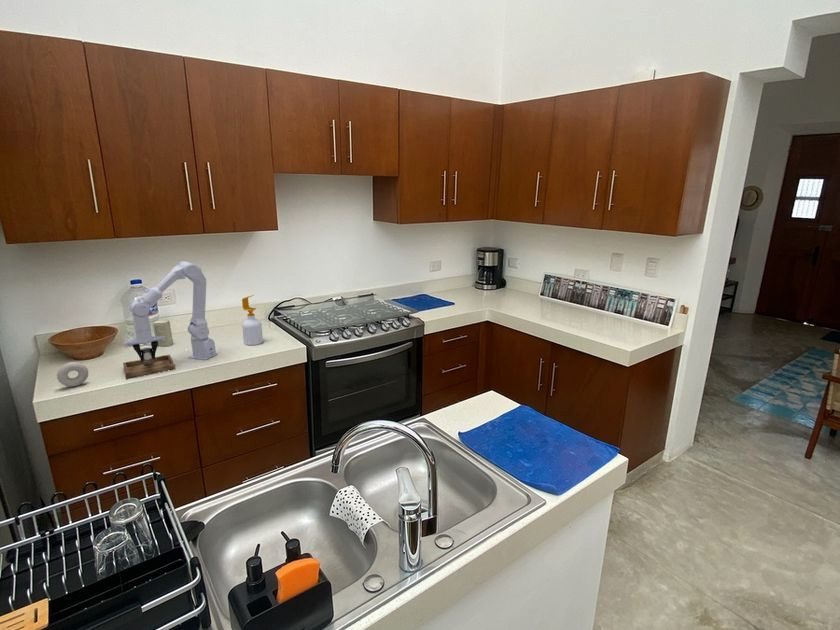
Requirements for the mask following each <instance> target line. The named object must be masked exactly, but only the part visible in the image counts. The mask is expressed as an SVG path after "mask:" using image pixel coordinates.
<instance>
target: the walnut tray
mask: <svg viewBox="0 0 840 630" xmlns="http://www.w3.org/2000/svg"><path fill="white" fill-rule="evenodd" d="M153 360H154V364H153V365H151V366H143V361H141V359H136V360H131V361H126V362H123V363H122V364H123V372H124V375H125V379H126V380H128V379H129V378H130V379H134V377H135V378H138V377H139V376H140V377H144V375H145V376H149V374H150V375H154V373H155V374H158V372H160V373H164V372H163V371H165V372H169V371H168V370H170V371H174V370H173V369H175V370H176V366H175V365H176V364H175V363H174V360H173V359H172V356H171V354H164V355H159V356H155V359H153ZM130 379H129V380H130Z"/></svg>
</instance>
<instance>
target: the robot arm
mask: <svg viewBox="0 0 840 630" xmlns="http://www.w3.org/2000/svg"><path fill="white" fill-rule="evenodd" d="M203 273H204V272H203V271H202V268H201V267H199V266H198V264H196V263H193V262H189V261H186V260H182V261H179V262H178V263H177V265H175V266H174V267H173V268H172V269H171V270H170V272H168V273H167V275H166V276H165V277H164V278H163V279H162V280H160V282H159V283H158V284H157V285H156V286H155V287H154V286H153V287H152V286H151V287H149V288H146V289H145V290H144V291H145V292H144V293H143V294H142V295H141V296H140V297H137V298H136V301H135V300H134V301H132V302H131V303H130V306H129V308H128V309H129V311H130V312H131V313H132V320H133V326H134V334H135V336H136V337H135V339H129V340H127V341H124V346H125V348H128V347H133V349H134V351H135V352H136V353H137V355H138V357H139V360H141V361H143V358H142V354H141V349H142V348H141V345H144V344H145V345H146V344H149V343H150V346H151V347H150V348H152V354H153V359H155V357H156V353H157V349H158V347H159V346H158V341H165V339H164V336H155V335H153V336H152V334H153V333H152V327H151V323H150V322H151V321H150V317H149V313H150V311H151V308H152V307H153V306H154V305H155V304H156V303H158V301H160V300H161V299H162V298H163V292H164V291H166V290H167V289H168V288H169V287H170V286H172V285H173V284H174V283H175V282H176V281H178V280H184V279H185V280H186V278H187V279H188V280H190V282H192V283H193V284H192V285H193V287H192V316H191V318H190V320H189V325H187V332H188V334H190V344H191V351H192V354H191V355H190V356H188V359H197V360H204V361H205V360H208V359H210V358H212V357H214V356H216V355H218V353H217V351H216V343H215V340H214V339H213V338H211V337H209V334H210V329H209V328H208V322H207V319H206V305H207V304H206V302H207V301H206V300H207V278H206V277H205V275H204V274H203Z"/></svg>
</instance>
